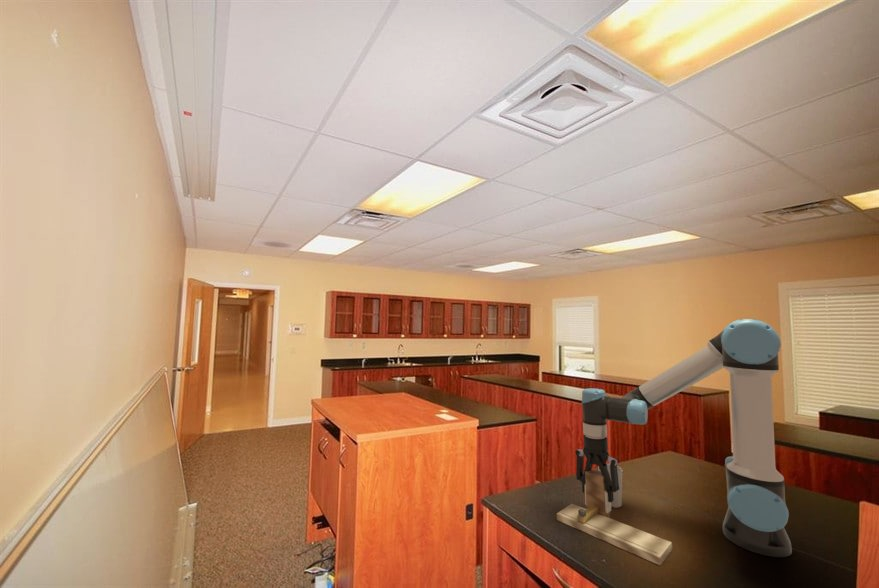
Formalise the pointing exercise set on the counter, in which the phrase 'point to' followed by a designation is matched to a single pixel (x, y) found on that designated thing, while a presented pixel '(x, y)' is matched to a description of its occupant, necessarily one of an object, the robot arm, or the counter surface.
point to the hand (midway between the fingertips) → (598, 507)
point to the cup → (618, 494)
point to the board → (619, 534)
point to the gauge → (593, 496)
